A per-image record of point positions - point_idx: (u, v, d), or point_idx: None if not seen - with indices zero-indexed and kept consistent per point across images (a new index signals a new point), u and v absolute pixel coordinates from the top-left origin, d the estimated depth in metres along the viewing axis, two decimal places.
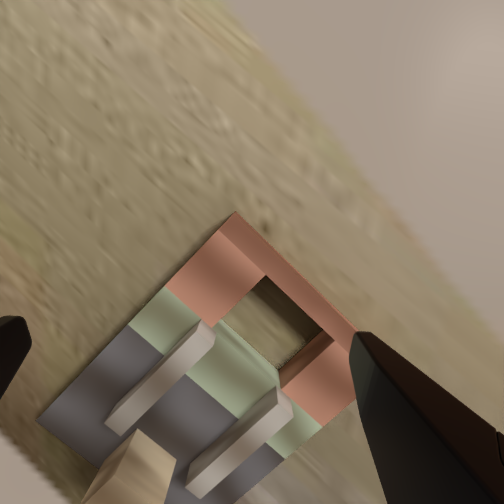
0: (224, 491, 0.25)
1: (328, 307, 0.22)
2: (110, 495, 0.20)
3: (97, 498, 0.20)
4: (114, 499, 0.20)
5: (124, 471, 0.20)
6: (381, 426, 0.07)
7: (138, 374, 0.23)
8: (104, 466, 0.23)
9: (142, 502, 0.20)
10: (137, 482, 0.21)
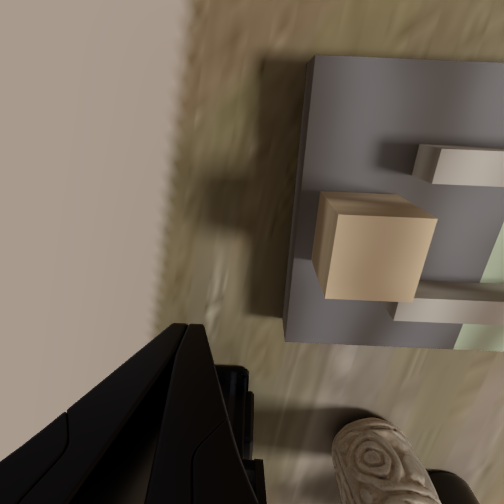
0: (373, 329, 0.20)
1: None
2: (398, 236, 0.13)
3: (382, 225, 0.13)
4: (395, 244, 0.13)
5: None
6: None
7: (485, 138, 0.15)
8: (341, 197, 0.15)
9: (411, 277, 0.14)
10: None
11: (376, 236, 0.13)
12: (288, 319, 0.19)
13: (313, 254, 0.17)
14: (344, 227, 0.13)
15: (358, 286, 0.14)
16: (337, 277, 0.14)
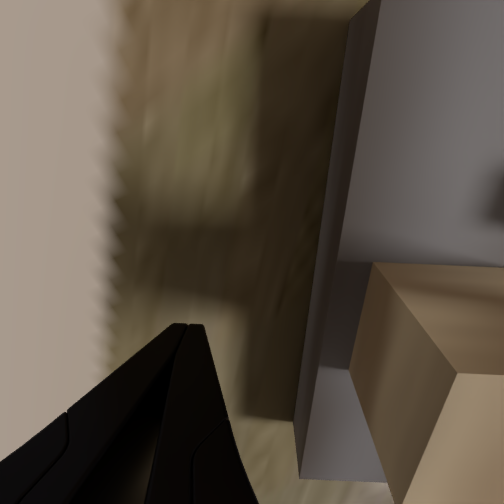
0: None
1: None
2: None
3: None
4: None
5: None
6: None
7: None
8: (422, 284, 0.08)
9: None
10: None
11: None
12: (306, 450, 0.12)
13: (355, 367, 0.10)
14: (466, 397, 0.05)
15: (475, 496, 0.06)
16: (432, 482, 0.06)
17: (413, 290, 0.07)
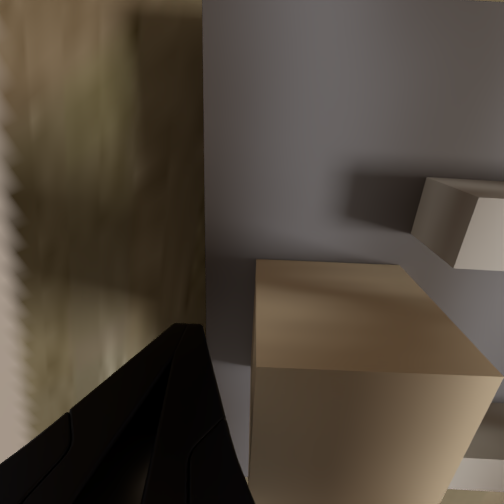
0: None
1: None
2: (405, 409, 0.05)
3: (367, 388, 0.05)
4: (397, 423, 0.05)
5: None
6: None
7: None
8: (289, 281, 0.08)
9: (434, 478, 0.06)
10: None
11: (354, 409, 0.05)
12: None
13: None
14: (273, 391, 0.05)
15: (317, 491, 0.06)
16: (269, 477, 0.06)
17: (275, 286, 0.07)
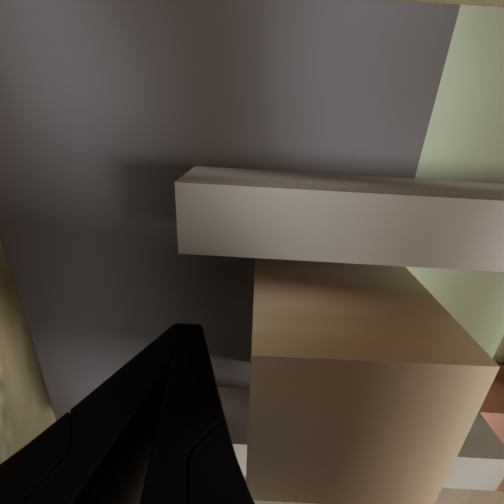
0: None
1: None
2: (401, 399, 0.05)
3: (362, 377, 0.05)
4: (394, 414, 0.05)
5: None
6: None
7: (318, 157, 0.08)
8: (288, 274, 0.08)
9: (431, 470, 0.06)
10: None
11: (349, 399, 0.05)
12: None
13: None
14: (269, 380, 0.05)
15: (314, 482, 0.06)
16: (267, 468, 0.06)
17: (273, 279, 0.07)
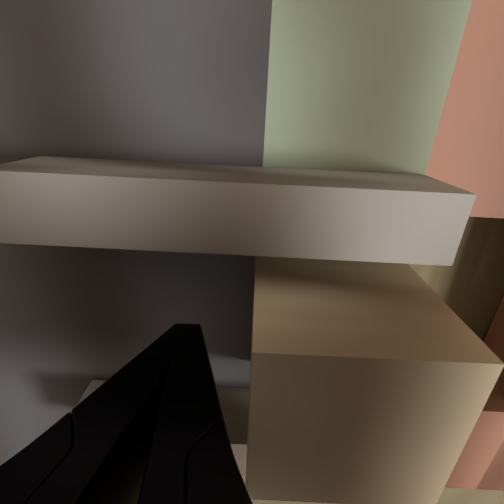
0: None
1: None
2: (404, 397, 0.05)
3: (364, 374, 0.05)
4: (395, 413, 0.05)
5: None
6: None
7: (162, 145, 0.07)
8: (288, 271, 0.08)
9: (433, 469, 0.06)
10: None
11: (351, 397, 0.05)
12: None
13: None
14: (270, 377, 0.05)
15: (315, 481, 0.06)
16: (267, 466, 0.06)
17: (274, 276, 0.07)
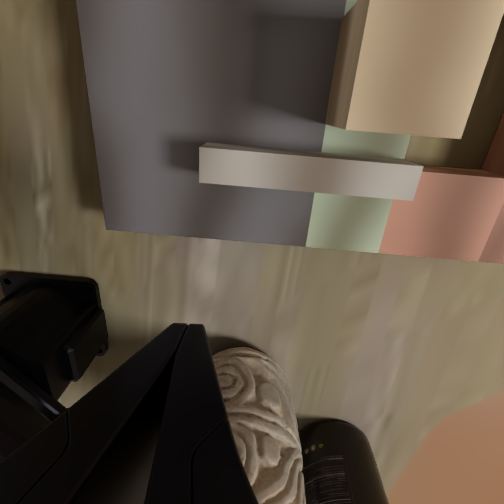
0: (206, 215, 0.16)
1: None
2: (452, 24, 0.09)
3: (433, 3, 0.09)
4: (446, 39, 0.10)
5: None
6: None
7: None
8: None
9: (464, 95, 0.10)
10: None
11: (423, 24, 0.09)
12: (103, 197, 0.16)
13: (328, 111, 0.14)
14: (379, 5, 0.09)
15: (391, 110, 0.10)
16: (364, 94, 0.10)
17: None
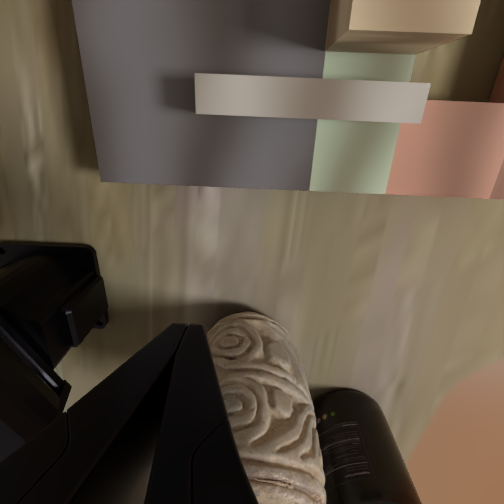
0: (204, 160, 0.16)
1: None
2: None
3: None
4: None
5: None
6: None
7: None
8: None
9: None
10: None
11: None
12: (96, 146, 0.16)
13: (328, 33, 0.13)
14: None
15: (397, 4, 0.10)
16: None
17: None
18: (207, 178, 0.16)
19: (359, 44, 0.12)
